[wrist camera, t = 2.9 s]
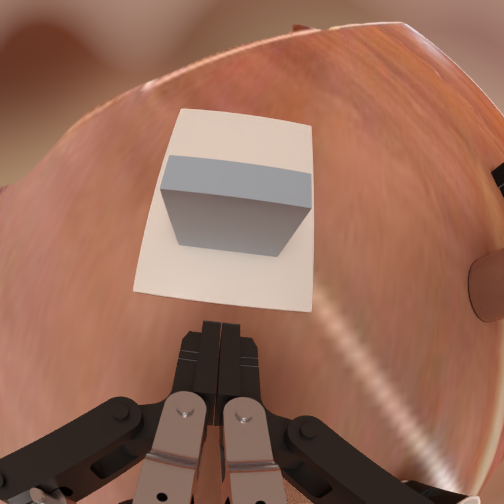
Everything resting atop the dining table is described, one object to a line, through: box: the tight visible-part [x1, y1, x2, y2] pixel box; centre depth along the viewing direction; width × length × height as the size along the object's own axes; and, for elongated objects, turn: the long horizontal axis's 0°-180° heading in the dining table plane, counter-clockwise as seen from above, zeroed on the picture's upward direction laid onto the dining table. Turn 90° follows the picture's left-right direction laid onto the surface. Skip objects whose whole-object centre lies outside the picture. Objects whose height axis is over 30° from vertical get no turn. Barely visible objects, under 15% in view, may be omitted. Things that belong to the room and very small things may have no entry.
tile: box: [160, 155, 312, 257], centre depth 21 cm, size 2×9×10 cm, turn 84°
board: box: [133, 109, 314, 313], centre depth 28 cm, size 22×16×1 cm
